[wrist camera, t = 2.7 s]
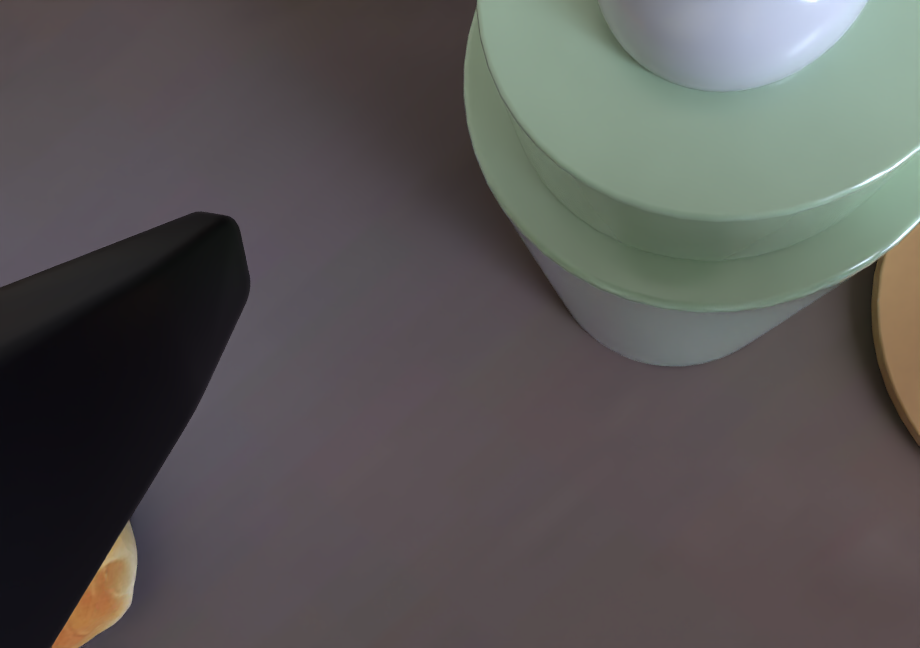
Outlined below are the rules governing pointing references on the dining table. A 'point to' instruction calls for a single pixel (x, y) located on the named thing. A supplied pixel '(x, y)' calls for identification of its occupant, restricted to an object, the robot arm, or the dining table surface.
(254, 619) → the dining table surface
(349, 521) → the dining table surface
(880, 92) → the pepper mill
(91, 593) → the pastry
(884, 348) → the cork trivet
